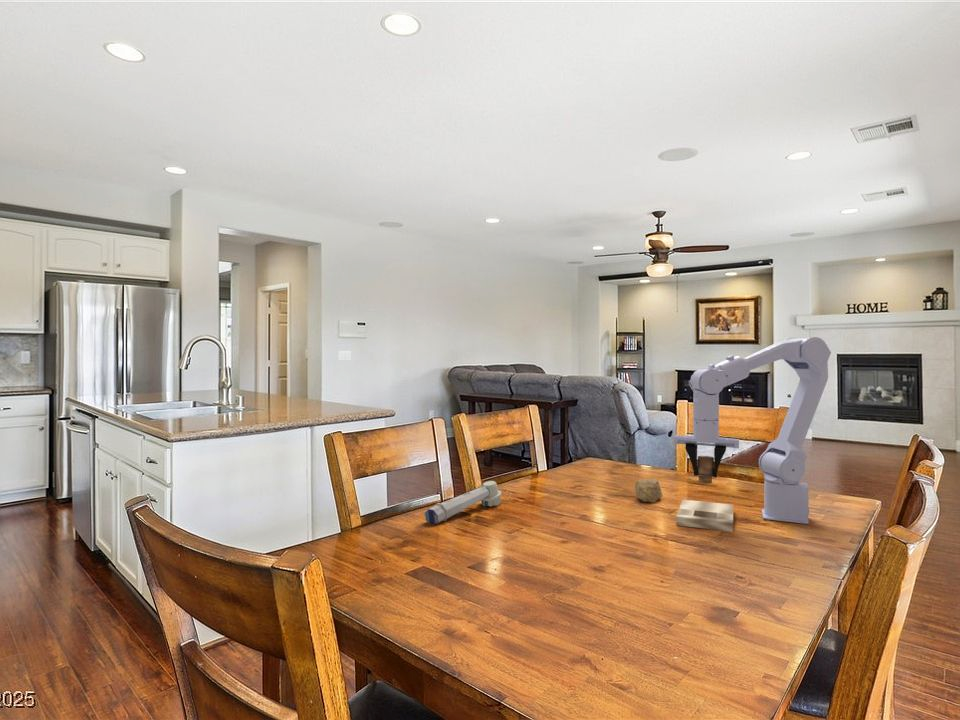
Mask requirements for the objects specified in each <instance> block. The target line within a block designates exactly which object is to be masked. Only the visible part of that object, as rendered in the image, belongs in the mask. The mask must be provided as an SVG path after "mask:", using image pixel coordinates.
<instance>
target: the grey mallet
mask: <svg viewBox="0 0 960 720" xmlns="http://www.w3.org/2000/svg"><path fill="white" fill-rule="evenodd" d="M498 488H499V487H498V484H497V482H496V481H494V480H489V481H485V482H483V483H482V486H480V487H478V488H475V489H473V490H470V491H468V492H465V493H463V494H460V495H458V496H456V497H453V498H450V499H448V500H446V501H445V500H444V501H443V502H441V503H440V502H437V503H436V504H435V505H434V506H432V507H430V508H428V509H426V511H425V512H424V517H425V520H426V522H427V523H428V524H430V523H431V524H430V525H433V526H435V525H437V524H440V523H442V522H446V521H447V519H449V518H451V517H452V516H453V517H454V516H455V515H457V514H458V513H460V512H462V511H463V510H464V511H465V510H466V509H467V508H469V507H471V506H474V505H475V504H477V503H479V502H481V505H483V507H485V506H490V507H489V508H491V507H493V506H495V507H497V506H499V505H501V504H500V503H501V502H502V500H501V497H502V495H503V494H502V491H501V490H499V489H498Z"/></svg>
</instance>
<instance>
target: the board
mask: <svg viewBox="0 0 960 720" xmlns="http://www.w3.org/2000/svg"><path fill="white" fill-rule="evenodd" d="M675 517H676V519H675V522H676V523H675V525H676V526H682V527H689V528H690V527H691V528H698V529H705V530H716V531H722V532H731V533H733V532H734V504H731V503H730V504H728V503H720V502H712V501H711V502H710V501H702V500H692V499H691V500H690V499H682V500H681V503H680V506H679V509H678V511H677V514H676V516H675Z"/></svg>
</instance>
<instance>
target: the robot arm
mask: <svg viewBox="0 0 960 720" xmlns="http://www.w3.org/2000/svg"><path fill="white" fill-rule="evenodd" d="M831 354H832V351H831V350H830V348H829V347H828V344H827V343H826V341H825V340H824V339H822V338H820V337H817V336H811V337H798V338H797V337H789V338H786V339H785V340H783V339H782V340H779V341H777V342H775V343H773V344H770V345H769V346H767V347H765V348H762V349H760V350H758V351H756V352H754V353H752V354H750V355H748V356H746V357H741V356H740V355H736V356H734V355H728V356H726V357H725V360H723V361H721V362H719V363H716V364H715V363H711V364H708V367H707V369H704V368H702V369H698V370H696V371H693V373H692V375H691V376H690V380H688V385H689V387H690V389H691V390H692V392H693V393H692V394H693V395H692V396H693V398H692V399H693V401H692V402H693V403H692V404H693V406H692V409H693V410H692V412H693V413H692V415H693V416H692V435H681V434H676V435H674V436H673V445H685V447H684V449H685V452H686V453H687V455H688V458H689V460H690V463H691V466H692V467H691V468H692V470H693V476H695V477H697V476H698V475H697V471H698V446H704V447H705V446H706V447H707V446H708V447H713V448H714V449H713V452H714V453H713V457H714V473H713V477H712V478H717V477H718V471H719V467H720V464H721V461H722V459H723V456H724V455H725V453H726V451H727V448H733V449H740V439H739V438H727V437H720V436H719V434H720V433H719V432H720V430H719V427H720V421H719V420H720V393H721V391H723V389H724V388H726V387H728V386H731V385H733V384H735V383H737V382H739V381H742V380H744V379H747V378H748V377H749V376H750V373H751V371H752V370H753V371H754V370H755V369H758V368H760V367H763V366H766V365H769V364H771V363H774V362H777V361H780V360H783V361H784V362H785V363H786V364H788V366H789V367H790V368H791V369H793V370H794V371H795V372H796V375H797V376H798V378H799V382H798V383H797V386H796V390H795V391H794V395H793V397H792V400H791V402H790V405H789V408H788V410H787V411H786V412H787V413H786V416H785V418H784V420H783V423H782V426H781V427H780V428H781V429H780V431H779V433H778V436H777V437H776V438H775V439H774V440H773V441H771V442H770V443H768V445H767V447H766V450H765V451H763V453H762V454H761V455H760V456H759V458H758V466H759V470H760V471H761V472H762V473H763V478H764V481H763V483H764V486H763V487H764V489H763V490H764V494H763V495H764V496H763V499H764V501H763V504H764V508H762V509H761V515H762V519H763V520H769V521H777V522H788V523H796V524H807V525H808V524H809V515H810V507H809V502H810V501H809V499H810V498H809V497H810V495H809V485H808V483H806V482H800V481H801V480H802V479H803V478H804V476H805V473H806V466H805V465H806V464H805V463H806V460H807V454H806V452H805V450H804V448H803V445H804V442H805V440H806V437H807V434H808V432H809V430H810V427H811V424H812V422H813V419H814V417H815V414H816V410H817V409H818V405H819V403H820V401H821V398H822V395H823V393H824V390H825V387H826V385H827V383H828V380H829V368H828V367H829V364H828V361H829V359H830V356H831Z"/></svg>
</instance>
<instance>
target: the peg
mask: <svg viewBox="0 0 960 720" xmlns="http://www.w3.org/2000/svg"><path fill="white" fill-rule="evenodd" d="M697 466H698V471H697V476H698V482H699V483H701V484H702V483H703V484H712V483H713V478H714V477H713V473H714V456H710V455H697Z"/></svg>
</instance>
